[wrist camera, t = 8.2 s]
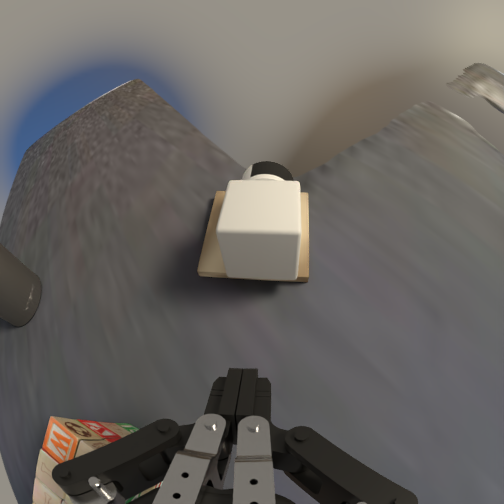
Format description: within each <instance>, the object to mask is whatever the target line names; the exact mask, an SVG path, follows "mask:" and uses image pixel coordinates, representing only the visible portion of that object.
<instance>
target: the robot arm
mask: <svg viewBox="0 0 504 504" xmlns="http://www.w3.org/2000/svg"><path fill="white" fill-rule="evenodd" d="M40 297H41V282H40V279H39V277H38V276H37V275H36V274H35V273H33V272H32V271H31V270H30V269H29V268H27V267H26V266H25V265H24V264H23V263H22V262H21V261H19V260H18V259H17V258H16V257H15V256H14V255H13V254H12V253H11V252H9V251H8V250H7V249H6V248H5V247H4V246H3V245H2V244H1V243H0V318H2V319H4V320H6V321H7V322H9V323H11V324H12V325H14V326H18V327H20V326H23V325H25V324H26V323H27V322H28V321H29V320H30V319H31V318H32V317H33V315H34V313H35V311H36V310H37V307H38V305H39V301H40ZM233 444H236V445H237V457H236V458H235V468H234V488H233V489H225V490H223V485H224V481H225V477H226V474H227V470H228V467H229V463H230V460H231V451H232V446H233ZM273 468H275V469H279V470H283V471H284V473H285V474H286V475H287V476H288V477H289V478H290V479H291V480H292V481H294V482H295V483H296V484H297V485H298V486H299V487H300V488H302V489H303V490H304V491H305V492H306V493H308V494H309V495H310V496H311V497H313V498H314V499H315V500H316V501H318V502H319V503H320V504H418V499H417V497H416V496H415V494H414V493H412V492H410V491H408V490H407V489H405V488H403V487H401V486H399V485H397V484H396V483H394V482H392V481H390V480H389V479H387V478H385V477H384V476H382V475H380V474H379V473H377V472H375V471H374V470H372V469H370V468H369V467H367V466H366V465H364V464H362V463H361V462H359V461H358V460H356V459H355V458H353V457H352V456H350V455H349V454H347V453H346V452H344V451H343V450H341V449H340V448H338V447H337V446H335V445H334V444H332V443H331V442H330V441H328V440H327V439H325V438H324V437H323V436H321V435H320V434H318V433H317V432H316V431H314V430H313V429H311V428H309V427H305V426H298V427H294V428H292V429H290V430H289V431H287V430H283V429H279V428H277V427H276V426H274V425H273V424H272V422H271V383H270V382H269V380H268V378H258V369H239V368H229V370H228V374H227V377H219V378H218V379H217V380H216V381H215V382H214V383H213V386H212V391H211V393H210V396H209V400H208V403H207V406H206V410H205V413H204V415H203V416H201V417H200V418H198V420H197V421H196V423H194V424H190V425H183V426H178V424H177V423H176V422H175V421H173V420H170V419H160V420H157V421H155V422H153V423H151V424H149V425H147V426H145V427H143V428H141V429H139V430H137V431H135V432H133V433H131V434H129V435H127V436H125V437H123V438H121V439H118V440H116V441H114V442H112V443H110V444H107V445H105V446H103V447H100V448H98V449H96V450H93V451H91V452H88V453H86V454H83V455H81V456H78V457H76V458H73V459H71V460H68V461H65V462H62V463H60V464H58V465H56V466H55V467H54V468H53V470H52V478H53V480H54V481H55V482H56V483H57V484H58V485H59V486H60V487H61V488H62V490H63V491H64V492H65V493H66V494H67V495H68V496H69V497H70V499H71V501H72V503H73V504H125V500H127V499H129V498H131V497H133V496H135V495H137V494H139V493H141V492H143V491H145V490H147V489H149V488H151V487H153V486H155V485H157V484H158V483H160V482H162V481H163V482H162V484H161V486H160V487H157V488H155V489H153V490H151V491H149V492H147V493H145V494H144V495H142V496H140V497H138V498H136V499H134V500H133V501H131V502H129V503H127V504H295V503H294V502H292V501H291V500H289V499H287V498H286V497H283V496H281V495H278V494H275V489H274V475H273Z"/></svg>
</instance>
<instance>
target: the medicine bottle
mask: <svg viewBox="0 0 504 504" xmlns="http://www.w3.org/2000/svg"><path fill="white" fill-rule="evenodd" d="M301 233H302V232H301V196H300V183H299V182H298V181H293V178H292V175H291V173H290V172H289V171H288V170H287V169H286V168H285V167H284V166H282V165H280V164H278V163H275V162H268V161H266V162H259V163H256V164H253V165H251V166H250V167H249V168H248V169H247V170H246V171H245V173H244V175H243V178H242V180H231V181H229V182H228V186H227V189H226V193H225V197H224V200H223V204H222V208H221V212H220V215H219V219H218V223H217V227H216V234H217V238H218V242H219V246H220V250H221V254H222V258H223V262H224V266H225V270H226V274H227V276H228V277H231V278H251V279H275V280H296V279H297V276H298V266H299V256H300V245H301Z"/></svg>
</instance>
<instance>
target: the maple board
mask: <svg viewBox="0 0 504 504" xmlns="http://www.w3.org/2000/svg"><path fill="white" fill-rule="evenodd" d="M225 193H226V191H217V192H216V195H215V199H214V203H213V207H212V211H211V215H210V219H209V223H208V227H207V231H206V235H205V239H204V243H203V248H202V252H201V256H200V260H199V265H198V269H197V272H198V274H199V276H206V277H220V278H231V277H228V276H227V274H226V270H225V266H224V262H223V258H222V254H221V250H220V246H219V242H218V238H217V234H216V227H217V223H218V219H219V215H220V212H221V208H222V204H223V200H224V197H225ZM300 196H301V232H302V233H301V245H300V256H299V266H298V276H297V279H296V280H275V279H253V280H272V281H292V282H308V278H309V210H308V193H300ZM236 279H251V278H236Z"/></svg>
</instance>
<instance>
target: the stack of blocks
mask: <svg viewBox="0 0 504 504" xmlns="http://www.w3.org/2000/svg"><path fill="white" fill-rule="evenodd" d="M137 430H139V429H138V428H136V427H134V426H132V425H131V424H127V423H105V422H96V421H87V420H80V419H76V420H73V419H66V418H60V417H54V416H51V417H50V420H49V424H48V427H47V431H46V435H45V439H44V443H43V448H42V449H41V450H40V453H39V457H38V463H37V469H36V478H35V481H34V488H33V503H32V504H73V503H72V501H71V499H70V497H69V496H68V495H67V494H66V493H65V492H64V491H63V490H62V488H61V487H60V486H59V485H58V484H57V483H56V482H55V481H54V480H53V478H52V470H53V468H54V467H55V466H56V465H58V464H60V463H62V462H65V461H68V460H71V459H73V458H76V457H78V456H81V455H83V454H86V453H88V452H91V451H93V450H96V449H98V448H100V447H103V446H105V445H107V444H110V443H112V442H114V441H116V440H118V439H121V438H123V437H125V436H127V435H129V434H131V433H133V432H135V431H137ZM162 482H163V481H162ZM162 482H160V483H158V484H157V485H155V486H153V487H151V488H149V489H147V490H145V491H143V492H141V493H139V494H137V495H135V496H133V497H131V498H129V499H127V500H125V504H127V503H129V502H131V501H133V500H134V499H136V498H138V497H140V496H142V495H144V494H145V493H147V492H149V491H151V490H153V489H155V488H157V487H160V486H161V484H162Z"/></svg>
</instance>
